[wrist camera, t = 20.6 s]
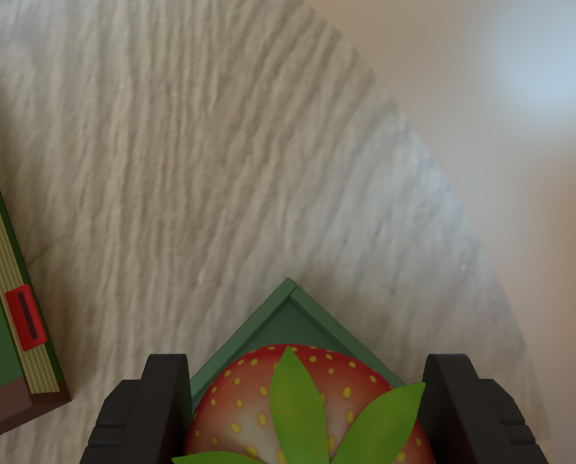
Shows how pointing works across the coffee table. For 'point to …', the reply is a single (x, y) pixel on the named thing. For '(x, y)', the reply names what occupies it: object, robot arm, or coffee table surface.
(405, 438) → the fruit
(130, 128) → the coffee table surface
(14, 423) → the hardcover book
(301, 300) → the green tray
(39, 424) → the coffee table surface
